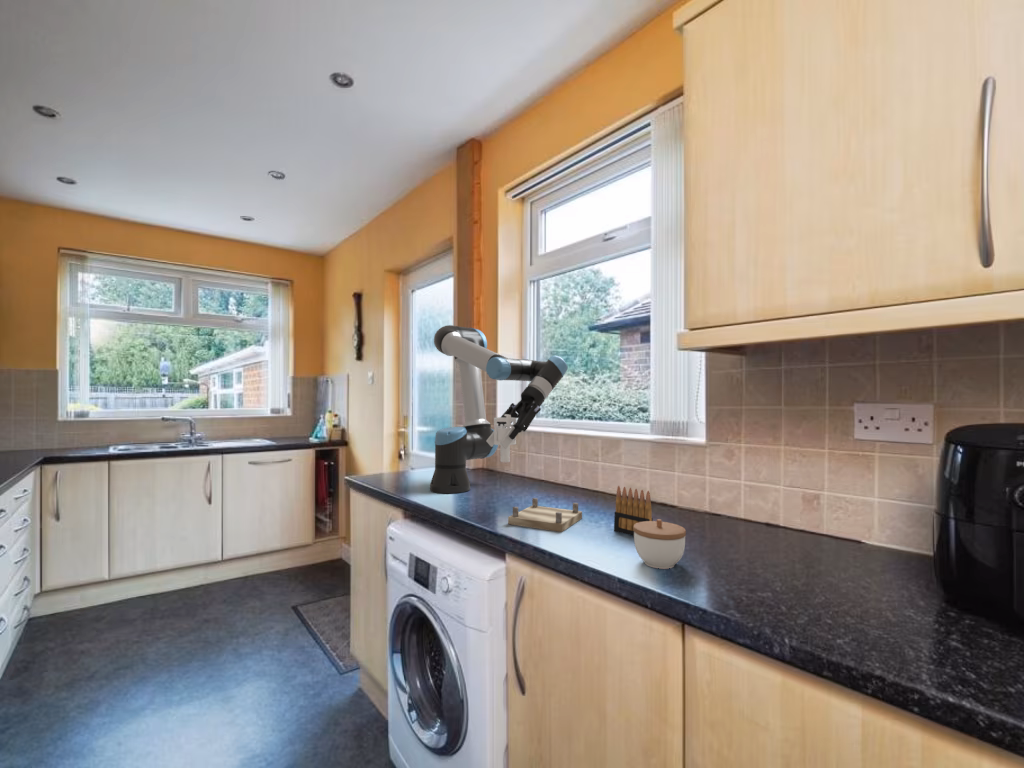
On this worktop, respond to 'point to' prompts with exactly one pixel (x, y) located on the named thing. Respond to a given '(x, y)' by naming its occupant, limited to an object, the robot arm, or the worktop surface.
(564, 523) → the board
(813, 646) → the worktop surface
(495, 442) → the white stemmed cylinder
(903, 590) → the worktop surface
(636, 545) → the lidded jar
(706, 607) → the worktop surface
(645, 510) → the ammunition clip
